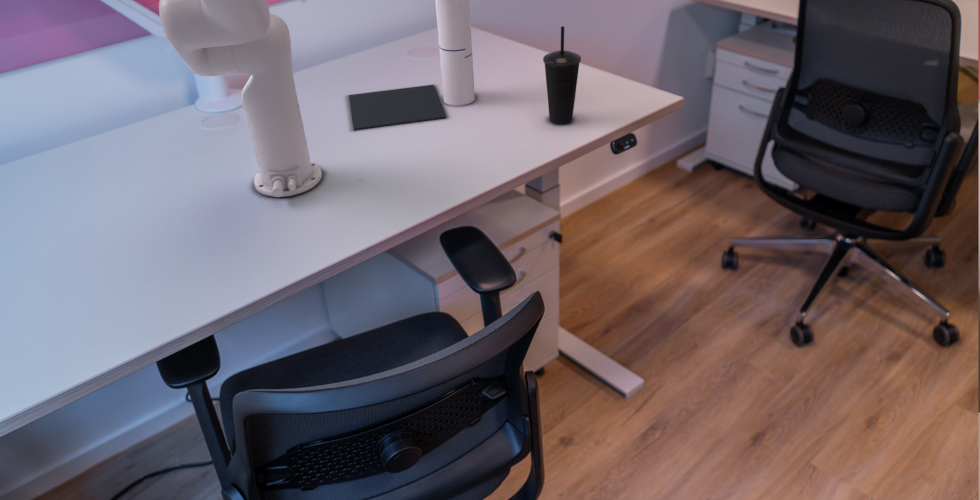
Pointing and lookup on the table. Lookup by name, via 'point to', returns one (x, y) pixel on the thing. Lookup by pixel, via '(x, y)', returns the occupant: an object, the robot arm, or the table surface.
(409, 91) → the desk mat
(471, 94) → the cylindrical container
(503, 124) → the table surface
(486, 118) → the table surface
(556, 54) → the drinking cup
